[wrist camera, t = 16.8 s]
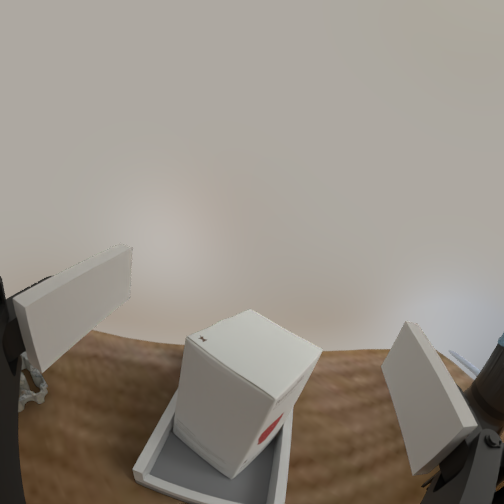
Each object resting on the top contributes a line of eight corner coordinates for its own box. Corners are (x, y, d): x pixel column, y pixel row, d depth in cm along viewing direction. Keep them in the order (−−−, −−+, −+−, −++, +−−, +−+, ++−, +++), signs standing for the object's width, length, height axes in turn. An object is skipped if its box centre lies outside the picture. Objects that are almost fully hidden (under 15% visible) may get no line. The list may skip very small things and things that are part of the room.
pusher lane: (270, 521, 17) (295, 503, 15) (135, 482, 18) (129, 456, 16) (286, 391, 38) (302, 357, 36) (197, 365, 39) (204, 329, 37)
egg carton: (-10, 425, 14) (-24, 404, 13) (-22, 382, 17) (-33, 360, 16) (55, 403, 23) (47, 382, 21) (35, 365, 26) (29, 343, 25)
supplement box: (231, 482, 20) (275, 402, 16) (170, 432, 25) (181, 334, 20) (277, 437, 28) (326, 348, 23) (222, 399, 32) (249, 305, 28)
